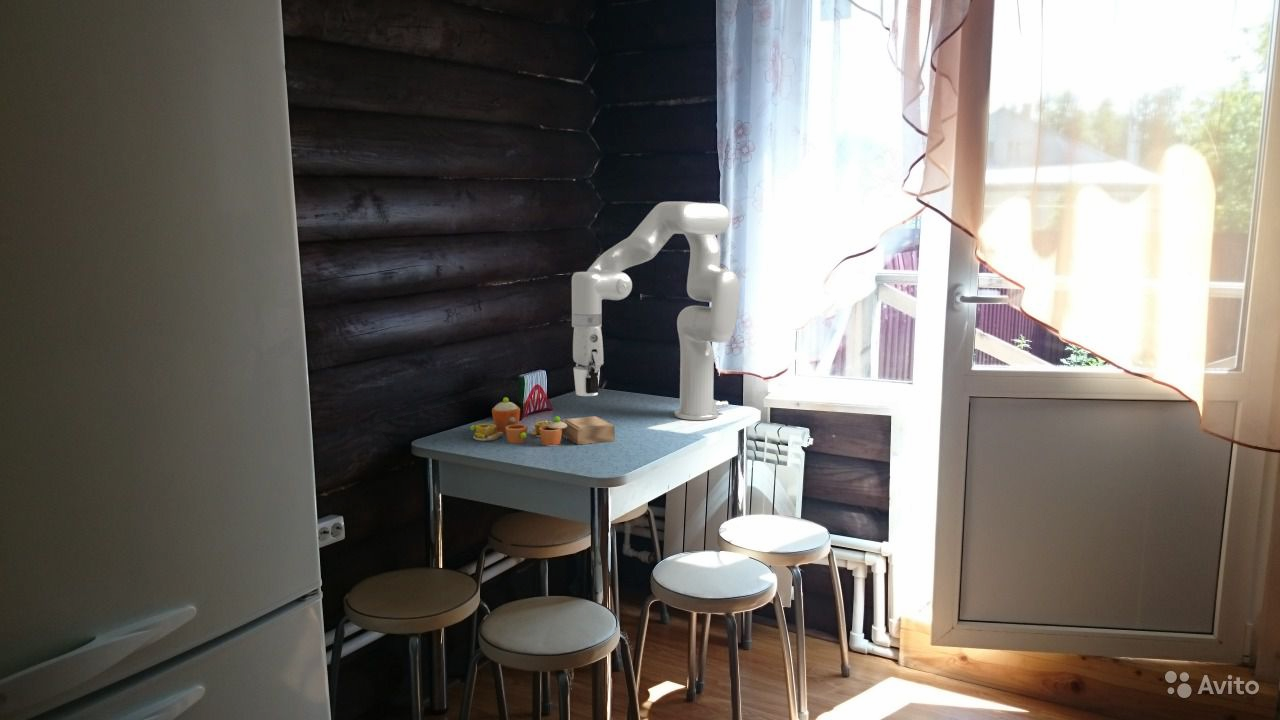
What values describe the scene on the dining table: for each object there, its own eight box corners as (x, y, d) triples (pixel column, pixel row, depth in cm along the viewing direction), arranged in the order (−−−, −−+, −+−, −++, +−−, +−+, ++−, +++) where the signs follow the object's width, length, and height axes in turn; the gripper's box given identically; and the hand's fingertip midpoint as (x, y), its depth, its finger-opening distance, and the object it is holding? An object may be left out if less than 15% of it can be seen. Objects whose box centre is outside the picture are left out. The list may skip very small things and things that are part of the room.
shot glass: (602, 392, 238) (602, 365, 237) (597, 397, 231) (597, 369, 230) (577, 391, 239) (576, 364, 238) (570, 396, 232) (570, 368, 231)
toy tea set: (464, 441, 235) (463, 404, 233) (493, 428, 249) (492, 393, 248) (557, 450, 226) (557, 412, 225) (582, 436, 241) (581, 400, 239)
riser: (596, 431, 245) (596, 415, 244) (614, 440, 234) (614, 424, 233) (561, 434, 240) (561, 418, 240) (578, 445, 230) (577, 428, 229)
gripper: (613, 323, 226) (613, 395, 229) (587, 316, 242) (588, 384, 245) (585, 325, 223) (585, 397, 226) (561, 318, 239) (561, 386, 241)
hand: (586, 389), depth 235 cm, fingers closed on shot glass, 6 cm apart
